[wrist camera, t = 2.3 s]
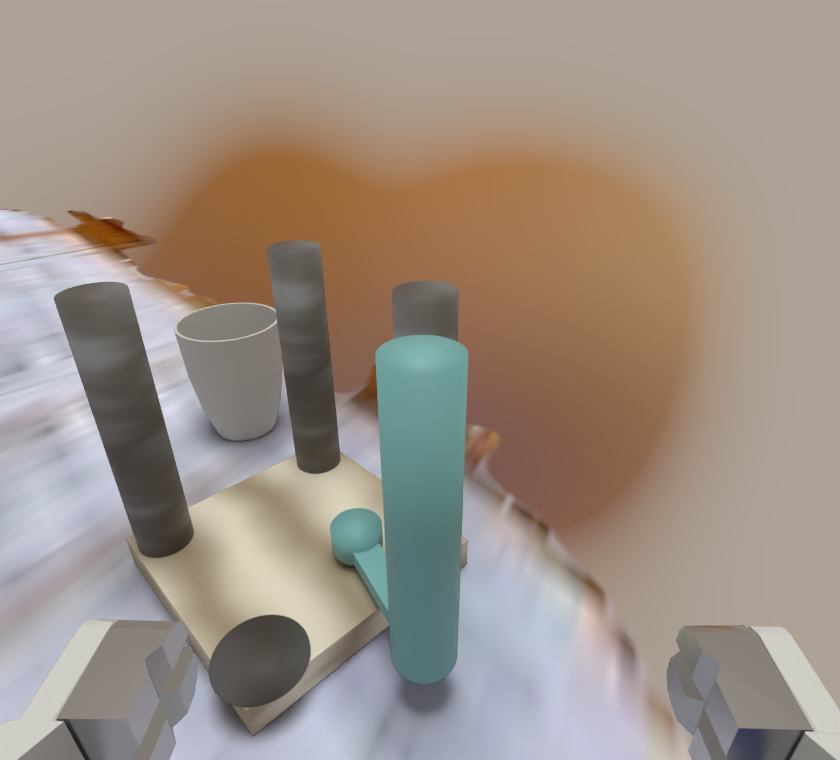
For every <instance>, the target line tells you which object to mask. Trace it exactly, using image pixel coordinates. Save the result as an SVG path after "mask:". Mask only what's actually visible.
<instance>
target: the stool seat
mask: <svg viewBox="0 0 840 760" xmlns="http://www.w3.org/2000/svg"><path fill="white" fill-rule="evenodd" d="M267 254H268V261H269V268H270V275H271V283H272V290H273V297H274V303H275V311H276V318H277V325H278V332H279V339H280V346H281V354H282V361H283V368H284V375H285V382H286V389H287V396H288V403H289V410H290V417H291V425H292V432H293V439H294V446H295V453H296V455H295V456H293V457H291V458H289V459H287V460H285V461H283V462H281V463H279V464H276V465H274V466H272V467H270V468H268V469H266V470H264V471H262V472H260V473H258V474H256V475H254V476H252V477H250V478H248V479H246V480H244V481H242V482H240V483H238V484H236V485H234V486H232V487H230V488H228V489H225V490H223V491H221V492H219V493H217V494H215V495H213V496H211V497H209V498H207V499H205V500H203V501H201V502H199V503H197V504H195V505H193V506H191V507H189V508H188V507H187V503H186V499H185V496H184V492H183V488H182V485H181V481H180V477H179V473H178V470H177V466H176V462H175V459H174V455H173V451H172V447H171V444H170V440H169V436H168V433H167V429H166V425H165V421H164V418H163V414H162V410H161V407H160V403H159V399H158V396H157V392H156V388H155V384H154V381H153V377H152V373H151V370H150V366H149V362H148V358H147V355H146V351H145V347H144V344H143V340H142V336H141V332H140V329H139V325H138V321H137V318H136V314H135V310H134V306H133V303H132V299H131V295H130V292H129V288H128V286H127V285H126V284H123V283H118V282H98V283H90V284H84V285H80V286H76V287H72V288H69V289H66V290H64V291H62V292H60V293H58V294H57V295H55V297H54V301H55V304H56V307H57V310H58V313H59V316H60V319H61V321H62V324H63V327H64V330H65V333H66V336H67V339H68V342H69V345H70V348H71V351H72V354H73V357H74V360H75V363H76V366H77V369H78V372H79V374H80V377H81V380H82V383H83V386H84V389H85V392H86V395H87V398H88V401H89V404H90V407H91V410H92V413H93V416H94V419H95V422H96V425H97V427H98V430H99V433H100V436H101V439H102V442H103V445H104V448H105V451H106V454H107V457H108V460H109V463H110V466H111V469H112V472H113V475H114V478H115V480H116V483H117V486H118V489H119V492H120V495H121V498H122V501H123V504H124V507H125V510H126V513H127V516H128V519H129V522H130V525H131V528H132V531H133V534H134V535H132V536H130V537H128V538H126V540H127V543H128V545H129V548H130V551H131V554H132V557H133V560H134V562H135V564H136V565H137V567H138V568H139V569H140V571H141V572H142V574H143V575H144V577H145V578H146V580H147V581H148V583H149V584H150V586H151V587H152V589H153V590H154V592H155V593H156V594H157V596H158V597H159V599H160V600H161V602H162V603H163V605H164V606H165V608H166V609H167V611H168V612H169V614H170V615H171V617H172V618H173V620H174V621H175V622H183V623H184V626H185V628H186V631H187V633H188V637H187V640H188V642H189V643H190V645H191V646H192V647H193V649H194V650H195V652H196V653H197V655H198V656H199V658H200V659H201V661H202V662H203V664H204V665H205V667H206V668H207V670H208V671H209V677H210V682H211V685H212V687H213V689H214V691H215V693H216V694H217V695H218V696H219V697H220V698H221V699H222V700H223V701H225V702H227V703H229V704H231V705H232V706H233V708H234V709H235V711H236V712H237V714H238V715H239V717H240V718H241V720H242V721H243V723H244V724H245V726H246V727H247V728H248V730H249V731H250V733H251V734H252V736H254V735H255V734H256V733H257V732H258V731H260V730H261V729H262V728H263V727H265V726H266V725H267V724H268V723H270V722H271V721H272V720H273V719H275V718H276V717H277V716H278V715H280V714H281V713H282V712H283V711H285V710H286V709H287V708H288V707H289V706H291V705H292V704H293V703H294V702H296V701H297V700H298V699H299V698H301V697H302V696H303V695H304V694H306V693H307V692H308V691H309V690H311V689H312V688H313V687H314V686H316V685H317V684H318V683H319V682H320V681H322V680H323V679H324V678H325V677H327V676H328V675H329V674H330V673H332V672H333V671H334V670H335V669H337V668H338V667H339V666H340V665H342V664H343V663H344V662H345V661H347V660H348V659H349V658H350V657H351V656H353V655H354V654H355V653H356V652H358V651H359V650H360V649H361V648H363V647H364V646H365V645H366V644H368V643H369V642H370V641H371V640H373V639H374V638H375V637H376V636H377V635H379V634H380V633H381V632H382V631H384V630H385V629H386V628H387V627H389V623H388V621H387V620H386V618H385V616H384V615H383V613H382V611H381V609H380V608H379V606H378V604H377V603H376V601H375V599H374V598H373V596H372V594H371V593H370V591H369V589H368V587H367V586H366V584H365V582H364V581H363V579H362V577H361V576H360V574H359V572H358V571H357V569H356V567H355V565H348V564H345V563H342V562H340V561H339V560H338V559H337V558H336V557H335V556H334V554H333V551H332V542H331V533H330V525H331V522H332V520H333V519H334V518H335V517H336V516H337V515H338V514H340V513H341V512H343V511H345V510H348V509H353V508H365V509H369V510H371V511H373V512H375V513H376V514H378V516H379V517H380V518H381V521H382V534H383V550H384V551H385V553H386V549H385V530H384V511H383V491H382V480H380V479H379V478H377V477H376V476H374V475H373V474H372V473H370V472H369V471H367V470H366V469H364V468H363V467H361V466H360V465H359V464H357V463H356V462H354V461H353V460H351V459H350V458H348V457H347V456H346V455H344V454H343V453H341V452H340V449H339V438H338V428H337V417H336V406H335V396H334V386H333V375H332V365H331V354H330V343H329V332H328V322H327V312H326V301H325V290H324V279H323V269H322V259H321V247H320V245H319V244H318V243H315V242H311V241H289V242H281V243H277V244H274V245H271V246H269V247H268V248H267ZM458 301H459V291H458V289H457V288H456V287H454V286H452V285H449V284H447V283H442V282H436V281H416V282H409V283H405V284H402V285H399V286H397V287H395V288H394V289H393V291H392V309H393V339H396V338H399V337H404V336H410V335H435V336H441V337H446V338H449V339H452V340H455V341H458V303H459V302H458ZM467 545H468V540H467V539H465V538H464V537H463V536H462V537H461V564H460V569H461V568H462V567H463V566H464V565H465V564H467Z"/></svg>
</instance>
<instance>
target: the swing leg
mask: <svg viewBox="0 0 840 760" xmlns="http://www.w3.org/2000/svg"><path fill="white" fill-rule="evenodd" d="M467 373H468V351H467V349H466V348H465V347H464V346H463V345H462V344H460V343H459V342H457V341H455V340H452V339H449V338H446V337H441V336H435V335H410V336H404V337H399V338H396V339H393V340H390V341H388V342H386V343H384V344H383V345H381V346H380V347H379V348H378V350H377V351H376V375H377V394H378V414H379V433H380V453H381V472H382V491H383V511H384V530H385V549H386V553H385V551H384V550H383V534H382V521H381V518H380V517H379V516H378V514H376V513H375V512H373V511H371V510H369V509H365V508H353V509H348V510H345V511H343V512H341V513H340V514H338V515H337V516H336V517H335V518H334V519H333V520H332V522H331V525H330V533H331V542H332V551H333V554H334V556H335V557H336V558H337V559H338V560H339V561H340V562H342V563H345V564H348V565H355V567H356V569H357V571H358V572H359V574H360V576H361V577H362V579H363V581H364V582H365V584H366V586H367V587H368V589H369V591H370V593H371V594H372V596H373V598H374V599H375V601H376V603H377V604H378V606H379V608H380V609H381V611H382V613H383V615H384V616H385V618H386V620H387V621H388V623H389V627H390V646H391V659H392V663H393V665H394V667H395V669H396V671H397V672H398V673H399V674H400V675H401V676H402V677H404V678H405V679H407V680H409V681H411V682H414V683H418V684H430V683H434V682H437V681H439V680H441V679H443V678H445V677H446V676H447V675H448V674H449V673H450V672H451V671H452V669H453V668H454V666H455V663H456V660H457V646H458V619H459V592H460V564H461V537H462V510H463V482H464V455H465V428H466V400H467V399H466V398H467Z"/></svg>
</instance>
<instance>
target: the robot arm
mask: <svg viewBox="0 0 840 760" xmlns="http://www.w3.org/2000/svg"><path fill="white" fill-rule="evenodd" d="M187 637H188V633H187V631H186V628H185V626H184V623H183V622H164V621H133V620H91V619H89V620H87V621H86V622H85V623H84V624H83V625H81V626H80V627H79V628H78V629H77V631H76V632H75V634H74V635H73V637H72V638H71V640H70V641H69V643H68V644H67V646H66V648H65V649H64V651H63V652H62V654H61V655H60V657H59V658H58V660H57V661H56V663H55V664H54V666H53V668H52V669H51V671H50V672H49V674H48V675H47V677H46V678H45V680H44V681H43V683H42V684H41V686H40V687H39V689H38V691H37V692H36V694H35V695H34V697H33V698H32V700H31V701H30V703H29V704H28V706H27V707H26V709H25V711H24V712H23V714H22V715H21V717H20V718H19V720H8V721H7V722H6V723H4V724H3V725H2V726H0V760H169V759H170V757H171V754H172V752H173V749H174V747H175V744H176V741H175V737H174V733H173V729H172V728H173V727H174V726H175V725H176V724H177V723H178V722H179V721H180V720H181V719H182V718H183V717H184V716H185V715H186V714H187V713H188V710H189V708H190V705H191V702H192V699H193V697H194V693H195V687H196V682H197V676H198V675H197V661H196V658H195V654H194V652H192V651H191V650H190V649H188V648H187V647H186V646H184V644H185V642H186V639H187ZM676 642H677V644H678V646H679V649H680V652H678V653H677V654H675V655H674V656H673V657H671V658H670V662H669V666H668V669H667V686H668V693H669V697H670V701H671V705H672V708H673V710H674V713H675V716H676V719H677V721H678V722H679V723H680V724H681V725H682V726H683V727H684V728H685V729H686V730H687V731H689V732H690V733H691V734H692V735H693V737H692V740H691V744H690V747H689V753H690V756H691V758H692V760H840V710H839V708H838V707H837V705H836V704H835V702H834V701H833V699H832V698H831V696H830V695H829V693H828V691H827V690H826V688H825V687H824V685H823V684H822V682H821V681H820V679H819V678H818V676H817V674H816V673H815V672H814V670H813V668H812V667H811V665H810V664H809V662H808V661H807V659H806V658H805V656H804V655H803V653H802V652H801V650H800V648H799V647H798V645H797V644H796V642H795V641H794V639H793V638H792V636H791V635H790V633H789V632H788V631H786V630H785V629H784V628H783V627H777V626H759V627H758V626H757V627H755V626H754V627H746V626H744V625H737V626H684V627H683V628H681V630H680V631H679V633H678V636H677V639H676Z"/></svg>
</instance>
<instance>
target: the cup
mask: <svg viewBox="0 0 840 760" xmlns="http://www.w3.org/2000/svg"><path fill="white" fill-rule="evenodd" d="M174 331H175V334H176V338H177V341H178V344H179V347H180V351H181V354H182V357H183V360H184V364H185V367H186V370H187V373H188V376H189V379H190V381H191V383H192V385H193V388H194V390H195V392H196V394H197V397H198V399H199V401H200V403H201V406H202V408H203V410H204V412H205V413H206V415H207V416H208V418H209V419H210V421H211V423H212V424H213V426H214V427H215V429H216V430H217V432H218V433H219V435H220V436H222V437H223V438H225V439H229V440H234V441H244V440H250V439H254V438H258V437H260V436H262V435H264V434H266V433H268V432H269V431H270V430H272V429H273V427H274V426H275V424H276V419H277V414H278V410H279V405H280V400H281V386H282V363H283V361H282V354H281V346H280V339H279V332H278V325H277V318H276V311H275V309H273V308H271V307H269V306H266V305H261V304H255V303H229V304H221V305H215V306H210V307H206V308H203V309H200V310H197V311H194V312H192V313H189V314H187V315H185V316H184V317H182V318H181V319H179V320H178V321H177V322H176V324H175V326H174Z"/></svg>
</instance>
